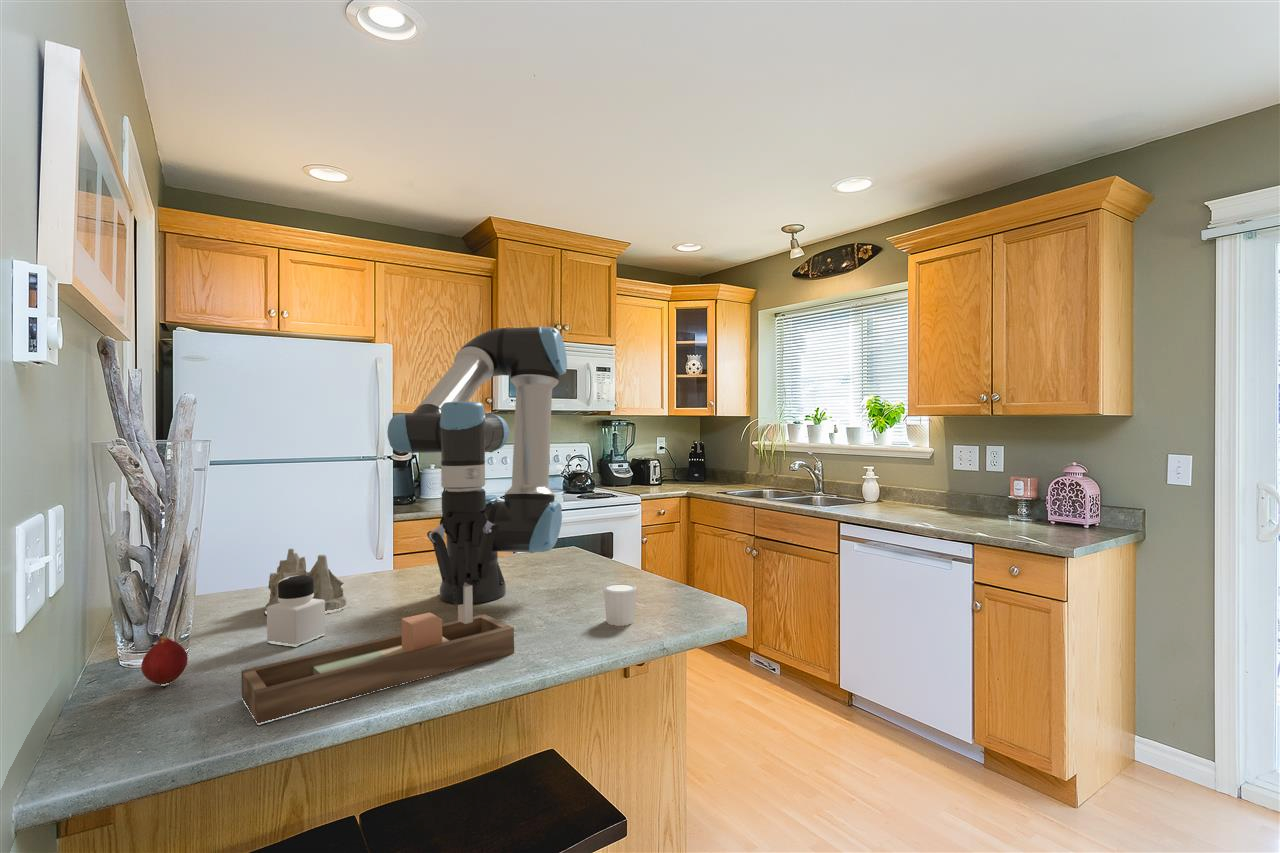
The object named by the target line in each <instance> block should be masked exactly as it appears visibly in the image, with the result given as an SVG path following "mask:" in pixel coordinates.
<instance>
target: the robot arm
mask: <svg viewBox="0 0 1280 853" xmlns="http://www.w3.org/2000/svg"><path fill="white" fill-rule="evenodd" d="M567 361H568V360H567V352H566V346H565V343H564V340H563V337H562V334H561V332H560V331H559V330H558V329H557V328H555V327H554V326H553V327H552V326H549V327H548V326H539V325H538V326H531V327H529V326H528V327H507V328H506V327H497V328H493V329H490V330H487V331H484V332H483V333H481V334H478V335H476V336H474V337H473V338H472V339H471V340H469V341H468V342H466V343H465V344H464V345H463V346H462V347H461V348H460V349H459V350H458V351H457V353H456V354H455V357H454V359H453V364H452V365H451V367H450V368H449V369H448V370H447V371H446V373H445V374H444V375H443V376H442V377H441V379H440V380H439V381H438V382H437V383H436V385H434V386H433V388H432V389H431V390H430V392H429V393H428V394H427V395H426V396H425V398H424V399H423V400H422V401H421V402H420V404H418V406H417V407H416V409H414V411H413V412H412V413H401V414H395V415H394V416H392V418H390V420H389V422H388V424H387V431H386V433H387V440H388V444H389V446H390V448H391V449H393V451H395V452H397V453H411V454H416V453H417V454H422V453H423V454H424V453H425V454H428V453H430V454H431V453H441V461H440V465H441V468H440V470H441V471H440V472H441V473H440V474H441V476H440V477H441V478H440V479H441V480H440V482H441V484H440V486H441V487H442V488H443V489H444V490H443V491H442V492H441V513H442V515H441V519H440V521H439V525H438V526H437V527H436V528H435V529H433V530H429V531H428V532H426V537H427V538H428V540H430V542H431V543H432V545H433V549H434V553H435V557H436V561H437V565H438V568H439V573H440V578H441V583H440V587H439V599H440V600H441V601H443V602H445V603H449V604H454V605H457V620H458V621H460V622H462V623H464V624H467V623H471V622H473V615H474V611H473V610H474V608H473V604H480V603H485V602H490V601H494V600H497V599H500V598H502V597H503V596H504V595H506V593H507V592H506V591H507V590H506V582H505V581H506V580H505V579H504V575H503V572H502V570H501V567H500V563H499V561H498V560H499V559H498V556H499V555H498V553H499V552H500V553H509V552H510V553H530V554H534V553H544V552H545V553H546V552H549V551H551V550H552V549H553V548H554V546H555V545H556V544H557V542H558V538H559V536H560V533H561V532H560V531H561V527H562V519H563V513H562V511H563V509H562V504H561V503H560V502H558V501H556V500H555V496H556V495H555V493H554V492H553V491H552V490H551V489H550V487H549V477H550V453H551V452H550V451H551V426H552V422H551V421H552V402H553V400H552V398H553V389H554V388H555V387H557V385H558V384H559V382H560V380H559V378H560V376H563V375H565V374H566V373H567V368H568V362H567ZM497 376H510V377H509V378H510V379H509V380H510V382H511V383H512V384H513V386H514V387H515V408H514V409H515V410H514V426H513V428H514V430H513V431H514V432H513V450H512V451H513V452H512V453H513V455H512V475H511V486H510V488H509V489H507V491H506V492H505V493H504V500H503V501H498V500H499V499H498V497H497V495H496V494H488V495H486V490H485V489H484V488H483V487H485V485H486V453H494V452H496V451H498V450H501V449H502V448H503V447H504V446H505V445H506V444H507V442H508V439H509V436H510V428H509V426H508V423H507V421H506V420H505V419H504V418H502V417H501V416H500V415H498V414H496V413H495V414H494V413H492V412H485V406H484V404H483V403H482V402H480V401H470V400H471V399H472V397H473V396H474V394H475V393H476V391H477V390H478V389H479V387H480V386H481V385H482V384H484V383H486V382H488V381H489V380H491V378H492V377H493V378H494V377H497ZM445 536H446V537H445ZM445 538H446V542H445V540H444V539H445Z"/></svg>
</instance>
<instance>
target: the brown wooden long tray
mask: <svg viewBox="0 0 1280 853" xmlns="http://www.w3.org/2000/svg"><path fill="white" fill-rule="evenodd" d="M511 654H515V627H513V626H511V625H509V624H507V623H504V622H502V621H500V620H498V619H496V618H494V617H492V616H489V615H487V614H486V613H483V614H479V615H474V616H473V622H471V623H467V624H464V623H462V622H460V621H458V619H457V620H453V621H449V622H442V643H439V644H435V645H431V646H427V647H424V648H420V649H416V650H412V651H408V652H407V651H406V650H404V649H403V648H402V632H401V633H397V634H393V635H389V636H383V637H379V638H375V639H371V640H366V641H362V642H358V643H353V644H350V645H346V646H341V647H337V648H332V649H327V650H325V651H318V652H314V653H311V654H307V655H306V654H305V655H302V656H298V657H294V658H288V659H285V660H281V661H276V662H272V663H269V664H264V665H259V666H254V667H250V668H246V669H242V670H241V673H240V674H241V678H240V679H241V699H242V698H243V700H244V701H245V703H246V705H247V706H248V708H249V710H250V712H251V713H252V715H253V716H254V718H255V720H256V721H257V723H261V722H265V721H268V720H272V719H276V718H279V717H282V716H286V715H289V714H293V713H297V712H300V711H302V710H306V709H309V708H313V707H317V706H321V705H325V704H329V703H333V702H336V701H341V700H344V699H349V698H352V697H356V696H359V695H364V694H367V693H371V692H373V691H377V690H380V689H384V688H387V687H391V686H395V685H400V684H402V683H406V682H410V681H413V680H417V679H420V678H424V677H427V676H431V675H435V674H438V675H440V674H439V673H442V674H444V673H443V672H445V673H447V672H446V671H449V672H451V671H450V670H452V671H454V670H453V669H456V670H459V669H462V668H461V667H463V668H465V667H464V666H466V667H469V666H468V665H470V666H473V665H477V664H480V663H483V661H484V662H486V661H490V659H491V660H493V659H497V657H498V658H501V657H504V656H508V655H511ZM476 663H477V664H476ZM472 664H473V665H472ZM458 668H459V669H458ZM435 676H436V675H435ZM431 677H432V676H431ZM424 679H425V678H424ZM400 686H401V685H400Z"/></svg>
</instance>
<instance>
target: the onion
mask: <svg viewBox="0 0 1280 853" xmlns="http://www.w3.org/2000/svg"><path fill="white" fill-rule="evenodd" d="M157 640H158V642H157V643H156V644H154V645H153V646H152V647H151V648H149V650H147V653H146V654H145V655H144V657H143V659H142V661H141V671H142V672H141V673H142V675H143V677H145V679H147V680H148V681H150V682H152V683H154V684H157V685H158V684H160V685H161V684H166V683H170V682H172V681H173V682H174V681H176V680H177V679H178V678H179V677H180V676H181V675H182V674H183V672H184V671H185V669H186V668H187V665H188V660H189V659H188V654H187V651H186V650H185V648H184V647H183V646H182V645H181V644H180V643H178V642H176V641H174V640H172V639H170V638H169V637H167V636H160V637H159V638H157ZM173 682H172V683H173ZM160 685H159V686H160Z"/></svg>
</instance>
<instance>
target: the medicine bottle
mask: <svg viewBox="0 0 1280 853" xmlns="http://www.w3.org/2000/svg"><path fill="white" fill-rule="evenodd" d="M313 597H314V581H313V578H312V577H310V576H306V575H298V576H290V577H286V578H284V579H282V580H280V581H279V582H278V602H280V603H277V604H274V605H271V606H268V607H267V616H266V634H267V638H266V639H267V640H268V641H275V642H281V643H288V644H294V645H295V644H299V643H301V642H303V641H306V640H308V639H311V638H313V637H316V636H318V635H321V634H323V633H325V634H326V614H325V601H324V600H322V599H312V598H313ZM267 640H266V641H267Z"/></svg>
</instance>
